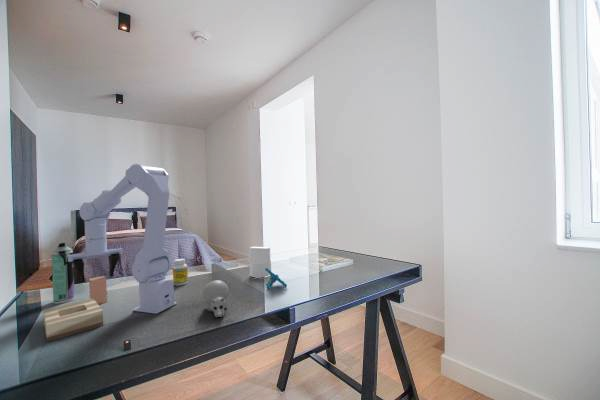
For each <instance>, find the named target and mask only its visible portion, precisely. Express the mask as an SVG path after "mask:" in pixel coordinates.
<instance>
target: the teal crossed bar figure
mask: <svg viewBox="0 0 600 400" xmlns="http://www.w3.org/2000/svg"><path fill="white" fill-rule="evenodd" d="M265 270H266V271H267V272H268V273H269V274H270V276H269V277H268V281H267V283H265V285H266V287H265V288H266V289H267V290H269V289H270V288H271V287H272V285H273V284H274V283H276V282H277V281H278V282H279V283H280V284H281V285H283V287H285V288H287V286H288V284H286V283H285V282H284V280H281V278H280V277H279V275H278V274H277V273H276V274H275V273H274V272H272V270H271V271H270V270H269V269H267V268H266V269H265Z"/></svg>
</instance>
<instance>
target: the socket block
mask: <svg viewBox="0 0 600 400" xmlns="http://www.w3.org/2000/svg"><path fill="white" fill-rule="evenodd" d="M42 311H43V326H44V332H45V338H46V342H51V341H54V340H58V339H61V338H65V337H68V336H71V335H74V334H78V333H81V332H85V331H88V330H92V329H95V328H98V327H101V326H104V311H103V309H102V307H101V306H100V304H97V302H96V301H95V300H94V299H90V298H89V299H84V300H81V301H77V302H73V303H68V304H65V305H59V306H56V307H51V308H47V309H43V310H42Z"/></svg>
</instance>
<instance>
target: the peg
mask: <svg viewBox="0 0 600 400" xmlns="http://www.w3.org/2000/svg"><path fill="white" fill-rule="evenodd" d="M88 284H89V285H88V286H89V289H88V290H89V299H94V300H95V301H96V302H97V304H98V305H101V304H104V303H105V304H106V303H107V302H108V295H107V294H108V291H107V277H106V276H105V275H102V276H97V277H93V278H92V277H91V278H89V280H88Z"/></svg>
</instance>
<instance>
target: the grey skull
mask: <svg viewBox="0 0 600 400" xmlns="http://www.w3.org/2000/svg"><path fill="white" fill-rule="evenodd" d="M229 291H230V290H229V286H228V285H227V283H226V282H224V281H223V280H220V279H219V280H218V279H215V280H212V281H210V282H209V283H207V284H206V285H205V287H204V289H203V295H202V296H203V297H202V298H203V299H204V303H206V310H207V311H208V312H210V311H211V312H213V314H214V317H215V318H217V317H221V318H222V316H223V317H224V315H225V309H226V308H227V307H228V302H227V299H228V297H229V293H230V292H229ZM224 308H225V309H224Z"/></svg>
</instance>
